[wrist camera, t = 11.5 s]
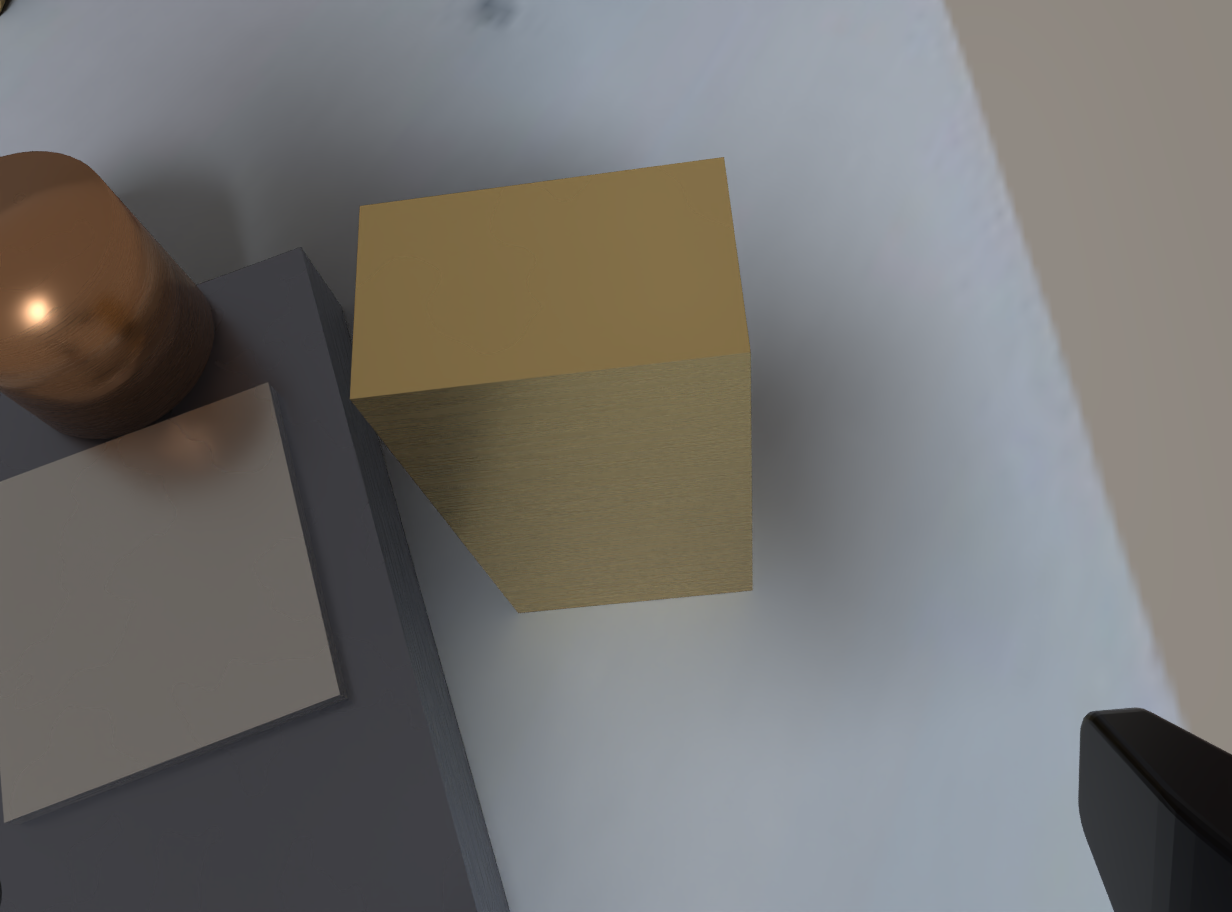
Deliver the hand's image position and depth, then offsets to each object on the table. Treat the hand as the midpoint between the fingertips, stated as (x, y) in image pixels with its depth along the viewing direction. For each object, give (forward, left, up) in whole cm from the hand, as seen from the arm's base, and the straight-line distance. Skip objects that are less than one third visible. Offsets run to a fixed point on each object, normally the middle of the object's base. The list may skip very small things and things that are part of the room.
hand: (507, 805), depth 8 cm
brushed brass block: (+5, -5, -12) cm, 14 cm away
